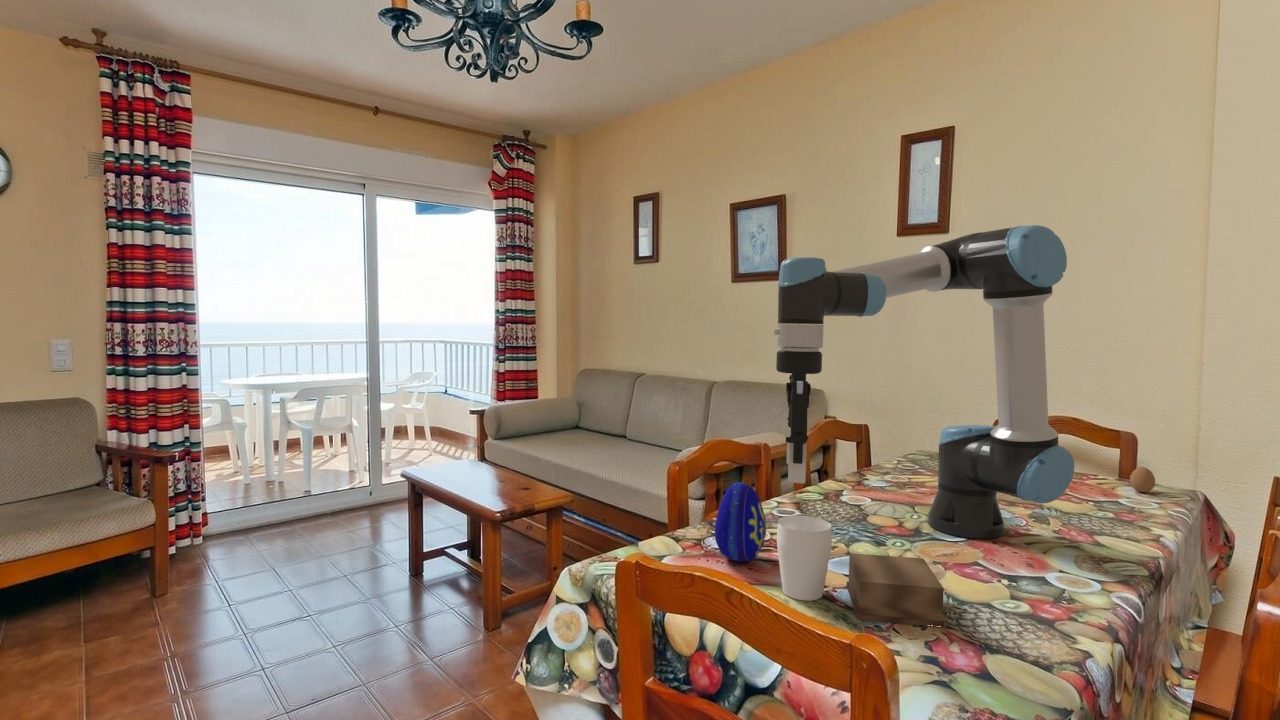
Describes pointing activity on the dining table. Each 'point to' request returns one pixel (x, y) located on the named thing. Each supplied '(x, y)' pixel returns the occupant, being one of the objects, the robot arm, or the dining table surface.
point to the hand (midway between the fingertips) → (795, 472)
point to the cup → (803, 555)
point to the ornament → (740, 523)
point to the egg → (1142, 479)
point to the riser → (894, 590)
